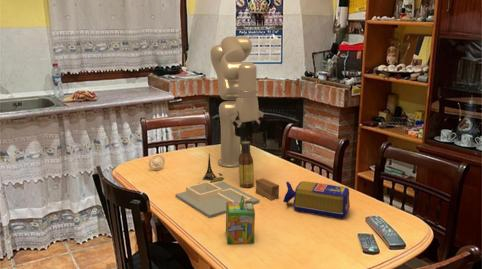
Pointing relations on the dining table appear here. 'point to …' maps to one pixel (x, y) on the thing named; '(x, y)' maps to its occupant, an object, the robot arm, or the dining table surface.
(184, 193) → the jig board
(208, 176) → the eiffel tower figurine
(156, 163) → the ring around a ball
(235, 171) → the dining table surface
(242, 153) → the sauce bottle
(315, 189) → the bread
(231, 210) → the chalk box
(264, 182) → the brown wooden block
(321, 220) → the dining table surface
